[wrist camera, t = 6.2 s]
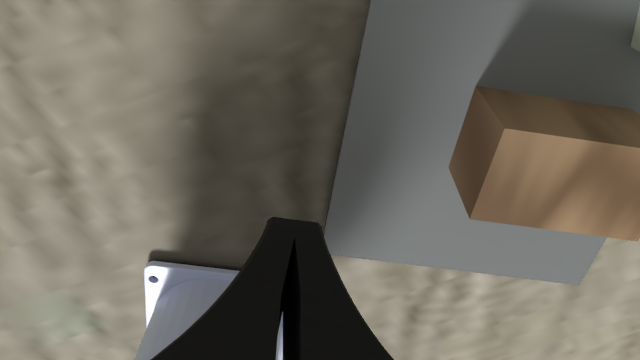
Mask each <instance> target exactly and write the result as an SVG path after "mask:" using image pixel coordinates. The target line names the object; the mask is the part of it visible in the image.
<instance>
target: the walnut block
mask: <svg viewBox="0 0 640 360" xmlns="http://www.w3.org/2000/svg"><path fill="white" fill-rule="evenodd" d="M448 168H449V170H450V173H451V175H452V178H453V180H454V183H455V185H456V187H457V190H458V192H459V195H460V197H461V200H462V202H463V205H464V207H465V209H466V212H467V214H468V217H469V219H471V220H479V221H487V222H494V223H502V224H509V225H517V226H525V227H532V228H540V229H548V230H555V231H563V232H571V233H578V234H586V235H593V236H601V237H609V238H616V239H624V240H632V241H638V240H639V238H640V115H639V114H638V113H637V112H636V111H634V110H631V109H625V108H618V107H612V106H605V105H598V104H592V103H585V102H579V101H572V100H565V99H559V98H552V97H546V96H539V95H532V94H526V93H519V92H513V91H506V90H499V89H493V88H486V87H480V86H475V89H474V92H473V95H472V98H471V101H470V104H469V107H468V110H467V113H466V116H465V119H464V122H463V125H462V128H461V131H460V134H459V137H458V140H457V143H456V146H455V149H454V152H453V155H452V158H451V161H450V164H449V167H448Z"/></svg>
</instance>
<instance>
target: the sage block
mask: <svg viewBox="0 0 640 360" xmlns="http://www.w3.org/2000/svg"><path fill="white" fill-rule="evenodd" d="M631 47H632V48H634V49H635V50H637V51H639V52H640V6H639V10H638V15H637V20H636V24H635V29H634V33H633V38H632V42H631Z"/></svg>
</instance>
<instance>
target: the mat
mask: <svg viewBox="0 0 640 360" xmlns="http://www.w3.org/2000/svg"><path fill="white" fill-rule="evenodd" d="M639 6H640V0H370V4H369V9H368V14H367V19H366V24H365V29H364V34H363V39H362V44H361V49H360V54H359V59H358V64H357V69H356V74H355V79H354V84H353V89H352V94H351V99H350V104H349V109H348V114H347V119H346V124H345V129H344V134H343V139H342V144H341V149H340V154H339V159H338V164H337V169H336V174H335V179H334V184H333V189H332V194H331V199H330V204H329V209H328V214H327V219H326V224H325V229H324V234H323V235H324V239H325V242H326V245H327V247H328V250H329V253H330V255H337V256H345V257H353V258H361V259H370V260H378V261H386V262H394V263H402V264H410V265H418V266H427V267H435V268H443V269H451V270H459V271H467V272H475V273H484V274H492V275H500V276H508V277H516V278H524V279H532V280H540V281H549V282H557V283H565V284H573V285H580V283H581V281H582V279H583V278H584V276H585V274H586V273H587V271H588V269H589V267H590V266H591V264H592V262H593V261H594V259H595V257H596V255H597V254H598V252H599V250H600V248H601V247H602V245H603V243H604V242H605V240H606V238H607V237H601V236H593V235H586V234H578V233H571V232H563V231H555V230H548V229H540V228H532V227H525V226H517V225H509V224H502V223H494V222H487V221H479V220H471V219H469V217H468V214H467V212H466V209H465V207H464V205H463V202H462V200H461V197H460V195H459V192H458V190H457V187H456V185H455V183H454V180H453V178H452V175H451V173H450V170H449V168H448V167H449V164H450V161H451V158H452V155H453V152H454V149H455V146H456V143H457V140H458V137H459V134H460V131H461V128H462V125H463V122H464V119H465V116H466V113H467V110H468V107H469V104H470V101H471V98H472V95H473V92H474V89H475V86H480V87H486V88H493V89H499V90H506V91H513V92H519V93H526V94H532V95H539V96H546V97H552V98H559V99H565V100H572V101H579V102H585V103H592V104H598V105H605V106H612V107H618V108H625V109H631V110H634V111H636V112H637V113H638V114H639V115H640V52H639V51H637V50H635V49H634V48H632V47H631V42H632V38H633V33H634V29H635V24H636V20H637V15H638V10H639Z"/></svg>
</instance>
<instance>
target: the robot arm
mask: <svg viewBox="0 0 640 360" xmlns="http://www.w3.org/2000/svg"><path fill="white" fill-rule="evenodd" d="M152 276H156V277H157V278H154V277H152ZM144 286H145V309H146V331H145V334H144V337H143V339H142V342H141V344H140V347H139V350H138V352H137V355H136V357H135V360H394V359H393V358H392V357H391V356H390V355H389V353H388V352H387V351H386V350H385V349H384V347H383V346H382V345H381V343H380V342H379V341H378V339H377V338H376V337H375V335H374V334H373V332H372V331H371V330H370V328H369V327H368V325H367V324H366V322H365V321H364V319H363V318H362V316H361V314H360V313H359V311H358V309H357V308H356V306H355V304H354V303H353V301H352V299H351V297H350V295H349V294H348V292H347V290H346V288H345V286H344V284H343V282H342V280H341V278H340V276H339V274H338V271H337V269H336V267H335V265H334V263H333V260H332V258H331V255H330V253H329V250H328V247H327V245H326V242H325V239H324V235H323V232H322V227H321V226H320V224H319V223H316V222H308V221H300V220H292V219H284V218H276V217H272V218H270V219H269V220H268V221H267V225H266V227H265V230H264V232H263V234H262V236H261V238H260V240H259V242H258V244H257V245H256V247H255V249H254V250H253V252H252V254H251V255H250V257H249V258H248V260H247V261H246V263H245V264H244V266H243V267H242V269H241V270H240V271H235V270H227V269H219V268H210V267H202V266H193V265H185V264H177V263H168V262H160V261H150V262H148V263H147V264H146V266H145V268H144Z"/></svg>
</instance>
